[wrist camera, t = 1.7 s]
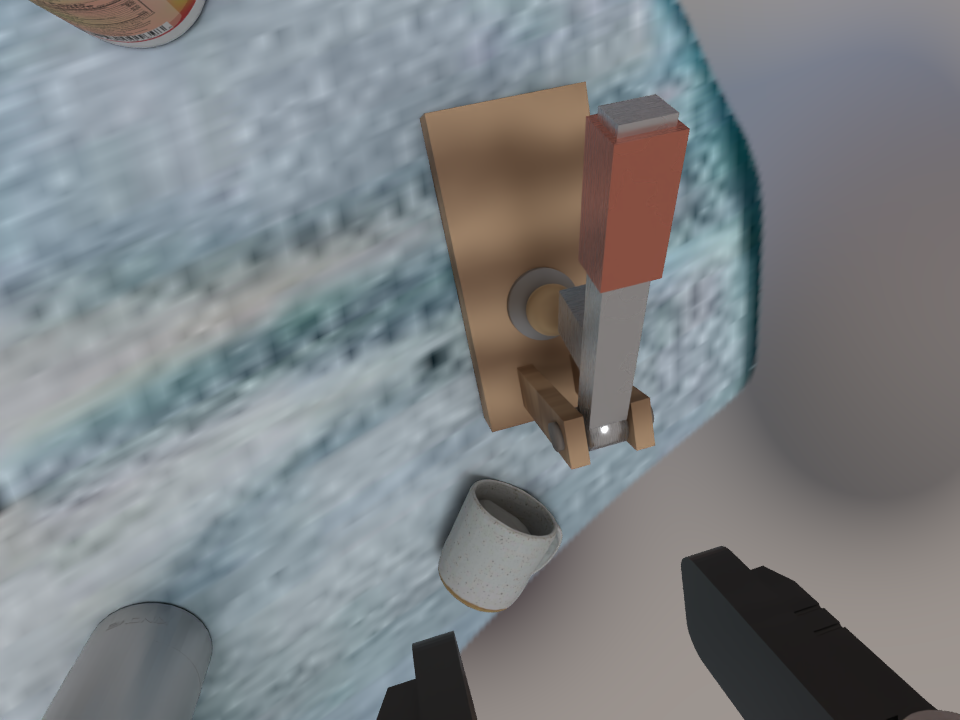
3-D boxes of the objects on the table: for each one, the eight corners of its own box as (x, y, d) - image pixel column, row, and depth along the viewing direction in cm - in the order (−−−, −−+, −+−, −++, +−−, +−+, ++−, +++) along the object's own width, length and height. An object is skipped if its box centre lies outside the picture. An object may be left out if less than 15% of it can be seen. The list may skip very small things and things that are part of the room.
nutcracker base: (609, 383, 49) (698, 453, 36) (484, 417, 47) (531, 502, 35) (570, 88, 41) (664, 46, 29) (419, 118, 40) (449, 88, 27)
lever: (593, 382, 40) (630, 448, 36) (552, 393, 40) (585, 461, 36) (623, 62, 25) (693, 116, 21) (557, 75, 25) (616, 133, 21)
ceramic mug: (426, 551, 50) (440, 613, 43) (463, 468, 48) (484, 519, 41) (533, 576, 53) (562, 638, 46) (571, 500, 52) (607, 552, 45)
